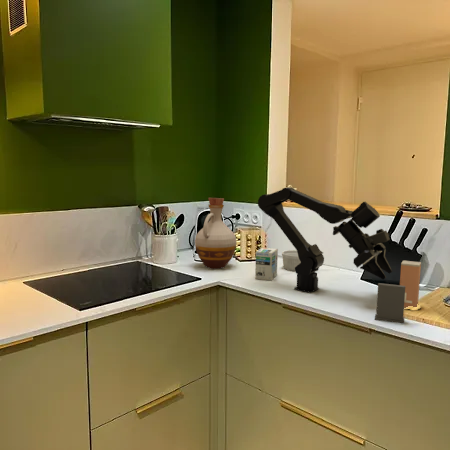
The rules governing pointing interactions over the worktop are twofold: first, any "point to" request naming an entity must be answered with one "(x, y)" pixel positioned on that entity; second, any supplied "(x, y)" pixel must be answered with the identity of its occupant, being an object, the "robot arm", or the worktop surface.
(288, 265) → the ramekin
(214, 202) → the jug
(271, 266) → the light bulb box
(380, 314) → the screen
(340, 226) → the robot arm
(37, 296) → the worktop surface
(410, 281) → the tin
